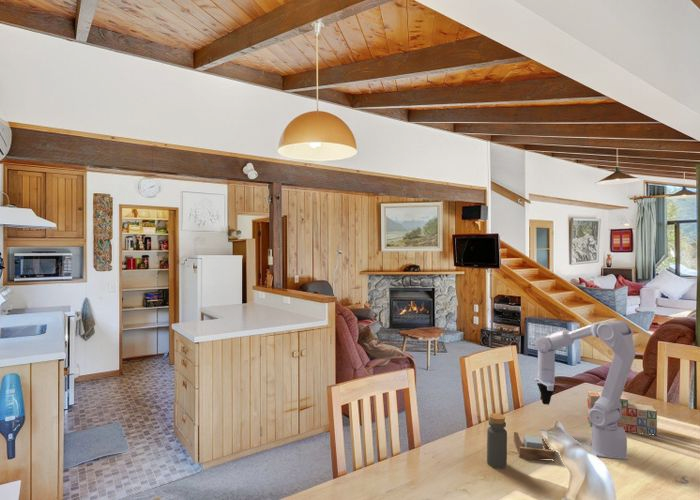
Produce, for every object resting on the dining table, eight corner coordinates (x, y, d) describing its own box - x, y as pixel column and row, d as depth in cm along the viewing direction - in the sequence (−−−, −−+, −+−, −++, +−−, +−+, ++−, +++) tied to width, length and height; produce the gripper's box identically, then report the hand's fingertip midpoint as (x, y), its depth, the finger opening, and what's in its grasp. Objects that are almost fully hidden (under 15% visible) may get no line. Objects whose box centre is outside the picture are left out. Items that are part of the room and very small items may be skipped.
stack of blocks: (651, 430, 157) (652, 397, 157) (657, 437, 151) (657, 403, 151) (587, 420, 165) (587, 389, 165) (589, 427, 159) (590, 394, 159)
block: (539, 448, 141) (539, 437, 141) (542, 455, 136) (543, 443, 136) (523, 447, 142) (523, 435, 142) (526, 454, 137) (526, 441, 137)
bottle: (497, 470, 126) (497, 421, 126) (482, 461, 131) (483, 414, 131) (510, 466, 129) (511, 417, 129) (496, 457, 134) (496, 411, 134)
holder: (545, 444, 144) (545, 434, 144) (554, 461, 132) (555, 451, 132) (513, 440, 146) (514, 431, 146) (519, 457, 134) (520, 447, 134)
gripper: (531, 362, 165) (530, 396, 165) (538, 372, 150) (538, 409, 150) (550, 363, 163) (549, 397, 163) (560, 373, 149) (559, 411, 149)
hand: (545, 403), depth 157 cm, fingers closed
